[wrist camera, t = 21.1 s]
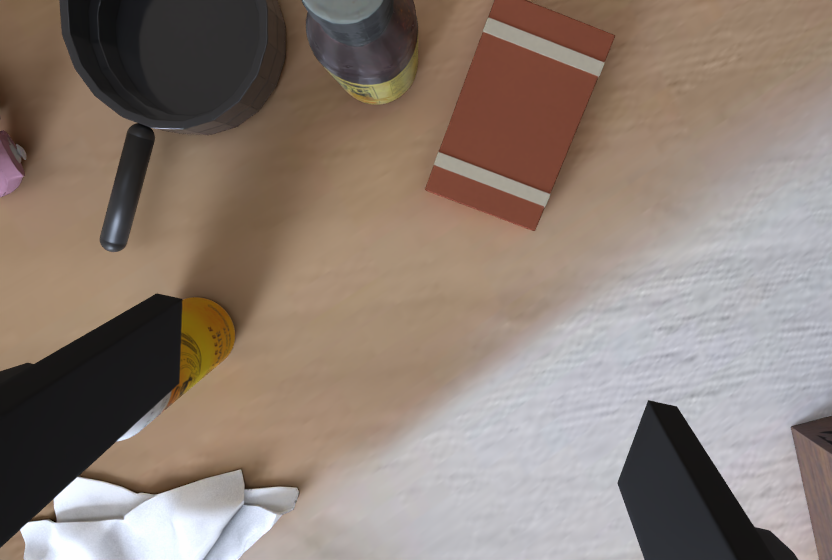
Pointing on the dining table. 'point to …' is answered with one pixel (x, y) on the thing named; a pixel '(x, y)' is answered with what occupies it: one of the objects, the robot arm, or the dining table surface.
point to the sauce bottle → (366, 45)
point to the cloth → (157, 521)
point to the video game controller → (10, 164)
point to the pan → (177, 58)
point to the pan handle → (127, 187)
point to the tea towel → (518, 111)
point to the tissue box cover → (817, 478)
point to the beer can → (195, 351)
